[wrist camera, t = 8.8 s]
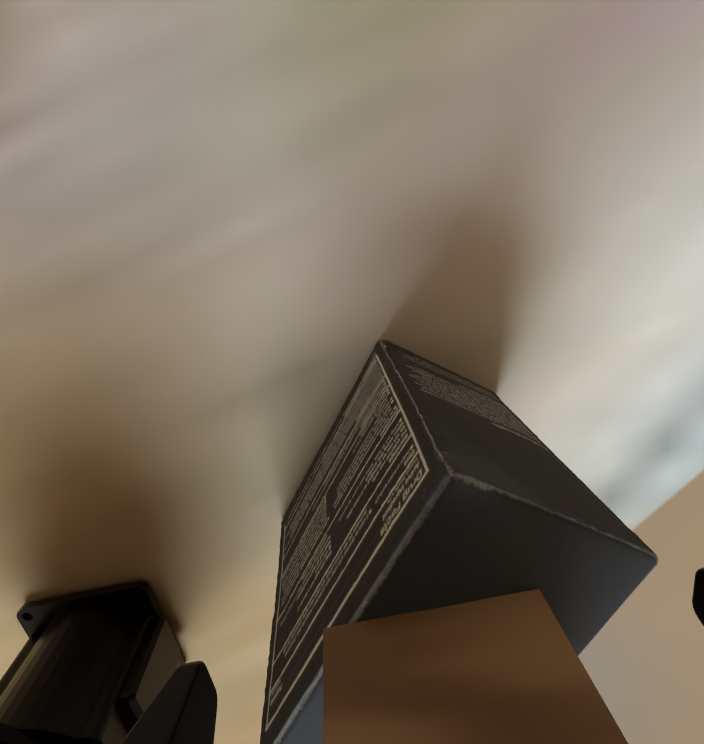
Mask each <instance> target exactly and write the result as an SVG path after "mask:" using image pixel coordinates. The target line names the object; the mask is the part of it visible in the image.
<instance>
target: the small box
mask: <svg viewBox="0 0 704 744" xmlns="http://www.w3.org/2000/svg"><path fill="white" fill-rule="evenodd" d="M281 525H282V527H281V539H280V555H279V570H278V576H277V588H276V601H275V612H274V617H273V622H272V633H271V640H270V654H269V664H268V669H267V680H266V688H265V702H264V707H263V716H262V728H261V737H260V744H323V628H328V627H334V626H339V625H345V624H350V623H356V622H361V621H366V620H372V619H377V618H383V617H388V616H394V615H399V614H405V613H411V612H417V611H423V610H429V609H435V608H441V607H446V606H451V605H457V604H462V603H467V602H472V601H477V600H482V599H487V598H492V597H497V596H502V595H508V594H513V593H519V592H524V591H530V590H535V589H539V590H540V591H541V593H542V595H543V597H544V598H545V600H546V602H547V604H548V605H549V607H550V609H551V610H552V612H553V614H554V616H555V617H556V619H557V621H558V623H559V624H560V626H561V628H562V630H563V631H564V633H565V635H566V637H567V638H568V640H569V642H570V643H571V645H572V647H573V649H574V650H575V652H576V654H577V656H578V655H579V654H580V653H581V652H582V651H583V649H584V648H585V647H586V646H587V645H588V644H589V642H590V641H591V640H592V639H593V638H594V636H595V635H596V634H597V633H598V632H599V631H600V629H601V628H602V627H603V626H604V625H605V623H607V621H608V620H609V619H610V618H611V617H612V615H613V614H614V613H615V612H616V611H617V610H618V608H619V607H620V606H621V605H622V604H623V603H624V602H625V600H626V599H627V598H628V597H629V596H630V595H631V593H632V592H633V591H634V590H635V589H636V588H637V586H638V585H639V584H640V583H641V582H642V580H644V578H645V577H646V576H647V575H648V574H649V573H650V572H651V571H652V569H653V568H654V567H655V566H656V565H657V563H658V558H657V555H656V554H655V553H654V552H653V551H652V550H651V549H650V548H649V547H648V546H647V545H646V544H645V543H644V542H643V541H642V540H641V539H640V538H639V537H638V536H637V535H636V534H635V533H634V532H632V531H631V530H630V529H629V528H628V527H627V526H626V525H625V524H624V523H623V522H622V521H621V520H620V519H619V518H618V517H617V516H616V515H615V514H614V513H613V512H612V511H611V510H610V509H609V508H608V507H607V506H606V505H605V504H604V503H603V502H602V501H601V500H600V499H599V498H598V497H597V496H596V495H595V494H594V493H593V492H592V491H591V490H590V489H589V488H588V487H587V486H586V485H585V484H584V483H583V482H582V481H581V480H580V479H579V478H578V477H577V476H576V475H575V474H574V473H573V472H572V471H571V470H570V469H569V468H568V467H567V466H566V465H565V464H564V463H563V462H562V461H561V460H560V459H558V457H557V456H556V455H555V454H554V453H553V452H552V451H551V450H550V449H549V448H548V447H547V446H546V445H545V444H544V443H543V442H542V441H541V440H540V439H539V438H538V437H537V436H536V435H535V434H534V433H533V432H532V431H531V430H530V429H529V428H528V427H527V426H526V425H525V424H524V423H523V422H522V421H521V420H520V419H519V418H518V417H517V416H516V415H515V414H514V413H513V412H512V411H511V410H510V409H509V408H508V407H507V406H506V405H505V404H504V403H503V402H502V401H501V400H500V398H499V397H498V396H497V395H496V394H495V393H494V392H492V391H490V390H488V389H486V388H484V387H482V386H480V385H478V384H476V383H474V382H472V381H470V380H468V379H466V378H463V377H461V376H459V375H457V374H455V373H453V372H451V371H449V370H447V369H445V368H443V367H441V366H439V365H437V364H434V363H432V362H430V361H428V360H426V359H424V358H422V357H420V356H417V355H416V354H414V353H412V352H410V351H407V350H405V349H403V348H401V347H399V346H397V345H395V344H393V343H391V342H389V341H386V340H381V341H379V342H378V343H377V344H376V346H375V349H374V351H373V353H372V354H371V356H370V358H369V360H368V361H367V363H366V365H365V367H364V369H363V371H362V372H361V374H360V376H359V378H358V380H357V382H356V384H355V386H354V387H353V389H352V391H351V393H350V395H349V397H348V399H347V400H346V402H345V404H344V405H343V407H342V409H341V412H340V414H339V415H338V417H337V419H336V421H335V423H334V425H333V427H332V428H331V430H330V432H329V434H328V436H327V438H326V440H325V441H324V443H323V445H322V447H321V449H320V451H319V453H318V454H317V456H316V457H315V460H314V462H313V464H312V466H311V467H310V470H309V471H308V473H307V475H306V477H305V479H304V481H303V482H302V485H301V487H300V488H299V490H298V492H297V494H296V496H295V498H294V500H293V502H292V504H291V506H290V508H289V510H288V512H287V514H286V516H285V517H284V519H283V521H282V522H281Z"/></svg>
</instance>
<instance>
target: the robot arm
mask: <svg viewBox="0 0 704 744" xmlns="http://www.w3.org/2000/svg"><path fill="white" fill-rule="evenodd" d="M137 591H139V592H141V593H139V592H137ZM692 603H693V608H694V611H695V613H696V615H697V617H698V618H699V620H700V621H701V623H702V624H703V626H704V568H700V569H698V570H697V572H696V574H695V582H694V590H693V598H692ZM17 618H18V620H19V622H20V624H21V625H22V627H23V628H24V630H25V632H26V633H27V635H28V637H29V640H28V641H27V643H26V644H25V646H24V647H23V648H22V650H21V651H20V653H19V654H18V656H17V657H16V659H15V660H14V661H13V663H12V664H11V666H10V667H9V669H8V670H7V672H6V673H5V674H4V676H3V677H2V679H1V680H0V744H213V743H214V732H215V722H216V712H217V693H216V689H215V687H214V684H213V682H212V679H211V677H210V675H209V672H208V670H207V667H206V665H205V663H203V662H202V661H195V662H190V663H185V662H184V660H183V658H182V656H181V651H180V648H179V646H178V644H177V642H176V639H175V637H174V635H173V633H172V631H171V628H170V626H169V624H168V622H167V619H166V618H165V617H164V616H163V614H162V611H161V609H160V607H159V605H158V603H157V600H156V598H155V596H154V594H153V591H152V589H151V587H150V586H149V584H148V583H146V582H144V581H135V582H130V583H124V584H119V585H114V586H109V587H104V588H99V589H94V590H89V591H84V592H79V593H74V594H69V595H63V596H58V597H53V598H48V599H43V600H38V601H33V602H28V603H25V604H24V605H23V606H22V607H21V609H20V610H19V611H18V613H17Z"/></svg>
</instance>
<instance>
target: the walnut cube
mask: <svg viewBox="0 0 704 744" xmlns="http://www.w3.org/2000/svg"><path fill="white" fill-rule="evenodd" d="M323 744H628V743H627V741H626V739H625V737H624V736H623V734H622V732H621V730H620V729H619V727H618V725H617V724H616V722H615V720H614V718H613V716H612V715H611V713H610V711H609V710H608V708H607V706H606V704H605V703H604V701H603V699H602V698H601V696H600V694H599V692H598V691H597V689H596V687H595V685H594V683H593V682H592V680H591V678H590V677H589V675H588V673H587V671H586V670H585V668H584V666H583V664H582V663H581V661H580V659H579V657H578V656H577V654H576V652H575V650H574V649H573V647H572V645H571V643H570V642H569V640H568V638H567V637H566V635H565V633H564V631H563V630H562V628H561V626H560V624H559V623H558V621H557V619H556V617H555V616H554V614H553V612H552V610H551V609H550V607H549V605H548V604H547V602H546V600H545V598H544V597H543V595H542V593H541V591H540V590H539V589H535V590H530V591H524V592H519V593H513V594H508V595H502V596H497V597H492V598H487V599H482V600H477V601H472V602H467V603H462V604H457V605H451V606H446V607H441V608H435V609H429V610H423V611H417V612H411V613H405V614H399V615H394V616H388V617H383V618H377V619H372V620H366V621H361V622H356V623H350V624H345V625H339V626H334V627H328V628H323Z"/></svg>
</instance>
